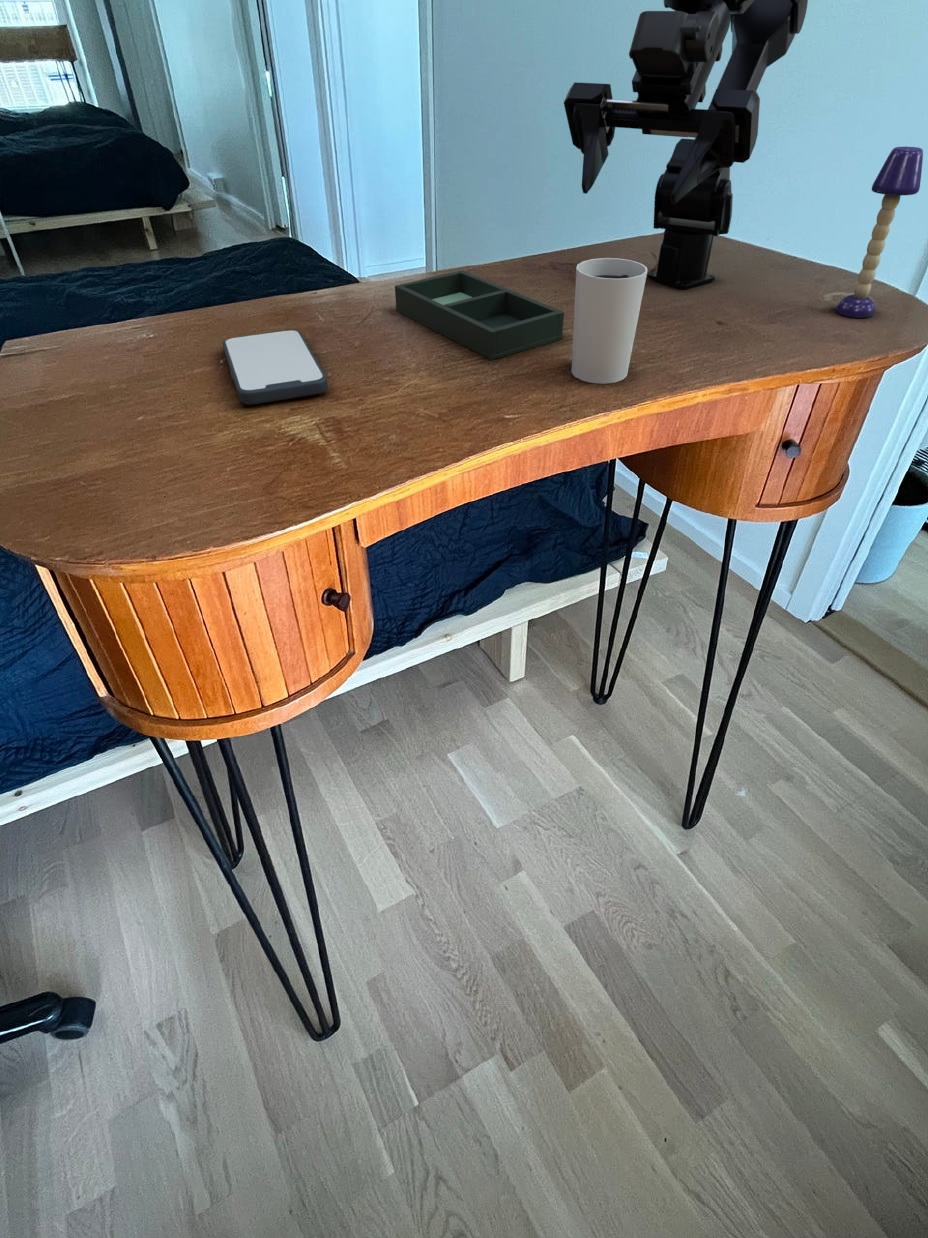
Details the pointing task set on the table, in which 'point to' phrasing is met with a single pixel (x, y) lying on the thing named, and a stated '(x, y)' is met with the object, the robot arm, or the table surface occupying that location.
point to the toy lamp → (884, 222)
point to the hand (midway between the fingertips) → (627, 194)
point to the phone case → (273, 367)
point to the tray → (479, 314)
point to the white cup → (606, 318)
